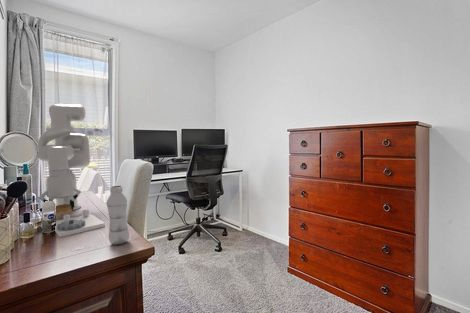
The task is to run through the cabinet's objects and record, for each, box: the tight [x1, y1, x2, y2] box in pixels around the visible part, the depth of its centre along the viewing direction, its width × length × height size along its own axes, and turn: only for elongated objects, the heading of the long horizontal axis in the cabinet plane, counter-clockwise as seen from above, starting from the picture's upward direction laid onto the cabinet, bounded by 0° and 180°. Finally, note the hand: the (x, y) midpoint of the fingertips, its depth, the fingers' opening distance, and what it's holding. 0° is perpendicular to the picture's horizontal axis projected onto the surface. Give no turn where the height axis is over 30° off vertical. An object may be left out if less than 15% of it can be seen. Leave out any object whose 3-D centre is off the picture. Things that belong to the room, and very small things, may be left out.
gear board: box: [54, 209, 106, 238], centre depth 110 cm, size 20×16×4 cm
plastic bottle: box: [106, 185, 130, 245], centre depth 89 cm, size 6×7×20 cm
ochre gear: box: [55, 204, 73, 216], centre depth 120 cm, size 7×7×3 cm
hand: (61, 210), depth 120 cm, fingers closed on ochre gear, 7 cm apart
